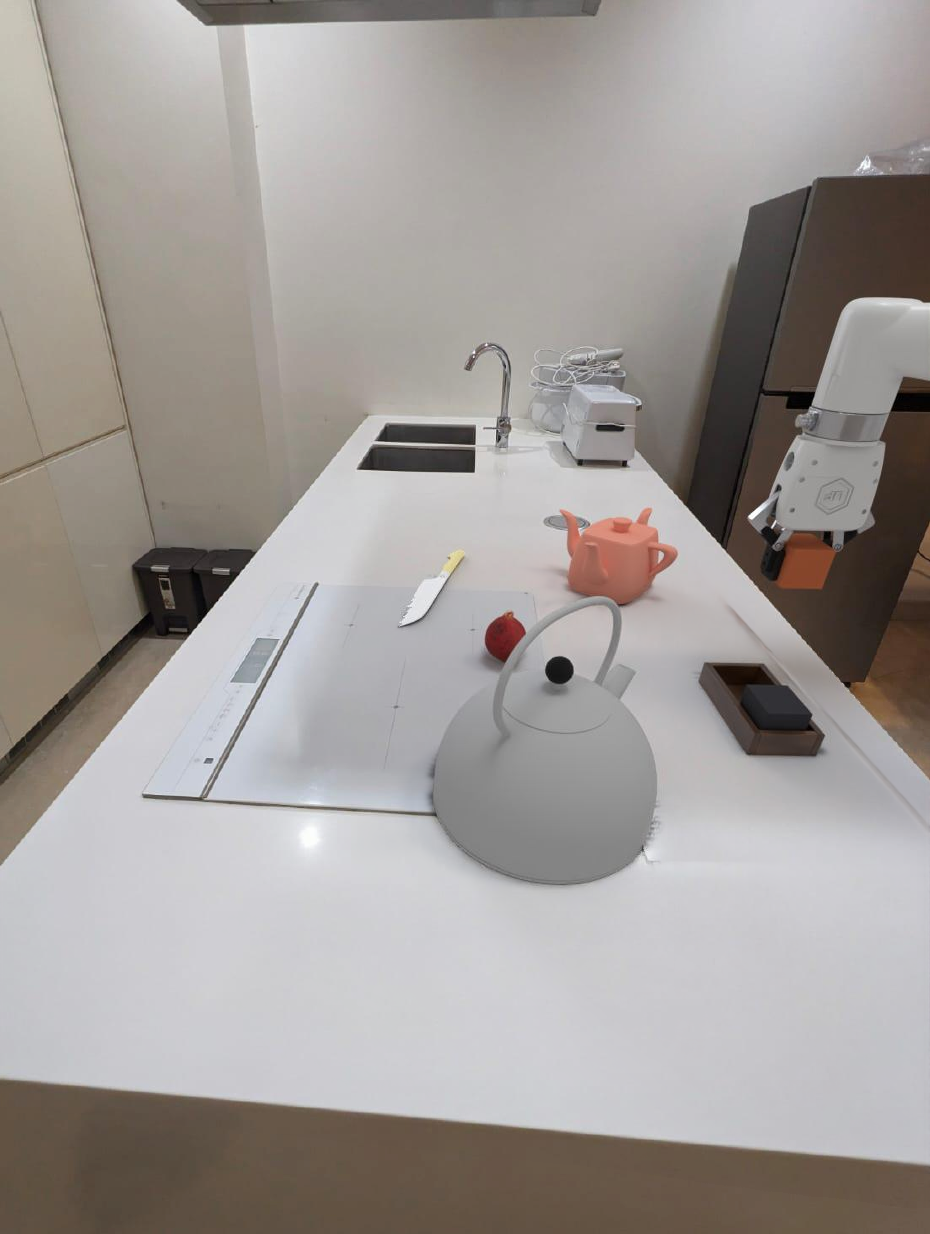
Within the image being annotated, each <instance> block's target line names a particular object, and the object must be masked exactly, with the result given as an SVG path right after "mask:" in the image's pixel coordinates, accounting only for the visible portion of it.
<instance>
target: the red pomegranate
mask: <svg viewBox="0 0 930 1234" xmlns="http://www.w3.org/2000/svg"><path fill="white" fill-rule="evenodd" d="M514 615H515V612H514V611H513V610H511V609H509V610H506V611H505V612H504V613H503V614H502V615H501V616H498V617H496V618H495V619H494V620H493V621H492V622H490V623H489V624H488V626H487V627H486V630H485V634H484V646H485V649H486V650H487V652H488V653H489V655H491V656H492V657H493V658H495V659H497V660H499V661H500V662H502V663H506V661H507V659H508V658H509V656H510V654H511V653H512V651H513V650H514V648H515V647H516V645H517V644H518V643H519V642H520V640H521V639H522V638H523V637H524V636H525V634H526V633H527V631H526V629H525V627H524V625H523V623H522V622H521V621H520V620H519V619H517V618H516V617H514Z"/></svg>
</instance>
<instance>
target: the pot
mask: <svg viewBox="0 0 930 1234" xmlns="http://www.w3.org/2000/svg"><path fill="white" fill-rule="evenodd" d="M558 511H559V513H560V514H561V515H562V516H563V518H564V519H565V522H566V527H567V535H566V536H567V537H566V549H567V553H568V555H569V557H570V558H571V560H570V564H569V566H568V572H567V582H568V586H569V589H570V590H572V591H575V592H576V593H580V594H582V595H586V596H588V597H594V596H604V597H608V598H610V599H612V600H613V601H614V602H615V603H616V604H617V605H625V604H629V603H631V602H632V601H634V600H636V599H638V598H640V597H641V596H643V595H644V594H645V593H646V592H647V591H648V589H649V588H650V587H651V585H652V584H653V582H654V581H655V579H656V576H657V575H658V574H660V573H661V572H663V571H664V570H666V569H668V568H669V567H671V566H672V565H673V564H674V563H675V561H676V559H678V556H679V552H678V550H677V548H676V547H674V546H672V545H671V544H668V543H667V544H666V543H663V542H662V543H661V542H659V529H657V528H656V527H654V526H650V525H648V523H649V518H650V517H651V514H652V513H653V508H652V507H646V508H644V509H643V510H641V512H640V513H639V516H638V518H637V520H636V522H634V521H633V520H632V519H631V518H628V517H625V516H616V517H608V518H604V519H601V520H598V521H596V522H595V523H592V524H591V525H589V526H588V527H586V528H585V529H584V530H583V531H582V533H581V535H580V531H579V523H578V520H577V518H576V516H575V515H574V514H573V513H571V512H570V511H568V510H566V509H565V510H564V509H559V510H558ZM660 552H661V553H662V554H663V557H662V559H661V560H660V559H659V557H660ZM659 560H660V561H659Z"/></svg>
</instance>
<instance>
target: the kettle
mask: <svg viewBox="0 0 930 1234" xmlns="http://www.w3.org/2000/svg"><path fill="white" fill-rule="evenodd" d="M593 606H604V607H607V608H608V609H609V610H610V612H611V616H612V632H611V637H610V641H609V645H608V648H607V651H606V654H605V656H604V659H603V661H602V663H601V666H600V668H599V669H598V671H597V674H596V676H595V679H594V680H593V681H592V680H591V679H589V678H587V677H585V676H582V675H579V674H577V673H575V668H574V667H575V666H574V664H573V662H572V661H571V660H570V659H569V658H567V657H565V656H564V655H558V656H552V657H551V658H550V659H549V660H548V661H547V662H546V664H545V668H542V669H541V668H540V669H538V668H537V669H530V670H525V671H520V672H516V673H513V670H514V669H515V667H516V665H517V663H518V662H519V660H520V659H521V657H522V656H523V654H524V653H525V651H526V650H527V649H528V648H529V646H530V645H531V644H532V642H533V641H535V639H536V638H537V637H538V636H539V635H540V634H541V633H542V632H543V631H544V630H546V629H547V628H549V627H550V626H551V625H552V624H554V623H556V622H557V621H559V620H561V619H563V618H564V617H566V616H568V615H570V614H573V613H575V612H578V611H580V610H583V609H585V608H589V607H593ZM622 622H623V621H622V613H621V609H620V607H619V604H616V603H615V602H614V601H613V600H612V599H610V598H608V597H604V596H594V597H592V596H588V597H585V598H581V599H579V600H575V601H573V602H570V603H568V604H566V605H564V606H562V607H559V608H557V609H555V610H554V611H552V612H551V613H549V614H547V615H546V616H544V617H543V618H542V619H540V620H539V621H538V622H536V623H535V624H534V625H533V626H532V627H531V628H530V629H529V630H528V631H526V634H525V636H524V637H523V638H522V639H521V640H520V642H519V643H518V644H517V645H516V647H515V648H514V650H513V651H512V653H511V654H510V656H509V658H508V659H507V661H506V662H504V665H503V667H502V669H501V671H500V674H499V676H498V679H497V680H494V681H493V682H490V683H489V684H487V685H485V686H483V687H482V688H481V689H479V690H478V691H476V692H475V693H474V694H473V695H472V696H471V697H469V698H468V699H467V700H466V702H464V703H463V704H462V705H461V707H460V708H459V709H458V710H457V712H455V714H454V716H453V717H452V719H451V720H450V722H449V724H448V725H447V728H446V729H445V731H444V734H443V735H442V738H441V740H440V744H439V746H438V751H437V755H436V761H435V768H434V779H433V786H432V800H433V801H432V802H433V808H434V811H435V814H436V817H437V819H438V821H439V823H440V825H441V827H442V828H443V830H444V831H445V833H446V834H447V836H448V837H449V838H450V839H451V840H452V841H453V843H454V844H455V845H457V846H458V847H459V848H460V849H461V850H462V852H465V854H467V855H468V856H470V857H471V858H473V859H474V860H476V861H477V862H479V863H481V864H482V865H483V866H486V867H488V868H490V869H491V870H494V871H496V872H499V873H501V874H504V875H506V876H509V877H513V878H516V879H520V880H523V881H528V882H533V883H539V884H549V885H573V884H580V883H586V882H587V883H589V882H592V881H596V880H600V879H603V878H605V877H608V876H610V875H612V874H614V873H617V872H619V871H620V870H622V869H623V868H625V867H626V866H628V865H629V864H630V863H632V862H633V861H634V860H635V859H636V858H637V857H638V856H639V855H640V853H641V852H642V851H643V849H644V844H645V842H646V840H647V838H648V835H649V833H650V829H651V825H652V821H653V817H654V814H655V808H656V803H657V794H658V773H657V766H656V761H655V760H656V759H655V756H654V753H653V750H652V746H651V744H650V741H649V739H648V737H647V734H646V733H645V731H644V729H643V727H642V726H641V724H640V723H639V721H638V719H637V718H636V716H635V715H634V714H633V713H632V711H631V710H630V709H629V708H628V707H627V706H626V705H625V704H624V703H623V701H621V699H622V697H623V696H624V694H625V692H626V691H627V689H628V686H629V685H630V683H631V681H632V680H633V678H634V676H635V675H636V673H637V671H636V670H634V669H633V668H630V667H628V666H626V665H624V664H621V663H617V664H616V665H614V667H613V668H611V665H612V664H613V660H614V659H615V656H616V653H617V650H618V647H619V643H620V640H621V635H622ZM610 668H611V670H610ZM609 670H610V671H609Z"/></svg>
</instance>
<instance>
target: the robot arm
mask: <svg viewBox="0 0 930 1234" xmlns="http://www.w3.org/2000/svg"><path fill="white" fill-rule="evenodd" d="M904 377H905V378H912V379H918V380H924V381H928V382H930V302H923V301H922V300H920V299H915V298H905V297H904V298H903V297H884V296H883V297H877V296H875V297H874V296H873V297H859V298H856V299H853V300H851V301H849V302H848V303H847V304H846V305H845V307H844V308H843V309H842V311H841V313H840V315H839V317H838V321H837V324H836V327H835V330H834V333H833V336H832V340H831V343H830V346H829V349H828V353H827V355H826V358H825V361H824V365H823V368H822V371H821V373H820V377H819V380H818V383H817V386H816V389H815V393H814V397H813V399H812V402H811V406H809V408H808V410H807V412H806V413H804V414H801V413H800V414H798V415H797V416H796V418H795V420H794V425H795V428H802V429H801V431H802V433H801V434H797V435H796V436H795V438H794V440H793V441H792V443H791V444H790V447H789V449H788V450H787V452H786V454H785V456H784V459H783V461H782V463H781V465H780V467H779V469H778V472H777V473H776V477H775V480H774V482H773V484H772V487H771V490H770V493H769V497H768V498H767V499H766V500H765V501H764V502H763V503H761V504H760V505H759V506H758V507H757V508H756V509H755V510H754V511H752V512H751V513H750V514H749V515H748V516H747V521H748V523H749V524H750V525H751V526H752V527H754V529H755V530H756V531H757V533H758V534H759V535H760V537H761V538H762V539H763V541H764V543H765V544H766V546H765V549H764V552H763V556H762V559H761V562H760V565H759V567H760V573H761V574H762V575H763V576H764V577H765V578H766V579H767V580H769V582H774V581H776V580H777V578H778V575H779V572H780V569H781V566H782V563H783V560H784V557H785V554H786V552H785V551H784V550H783V547H784V545H785V544H786V542H787V541H788V539H789V538H790V536H791V535H792V533H795V532H794V531H801V532H802V531H803V532H805V531H806V532H807V531H808V532H809V531H810V532H821V533H820V534H821V538H820V540H821V541H823V542H824V543H826V544H827V545H828V546H830V547H831V548H833V549H834V550H836V553H838V552H841V551H842V549H844V546H845V545H846V544H847V543H849V542H850V541H852V540H854V539H855V538H856V537H857V536H858V534H859V535H860V534H862V533H863V532H865V531H866V530H869V529H870V528H872V527H873V526H874V525H875V523H876V520H875V517H874V515H873V513H872V511H871V508H872V505H873V503H874V498H875V496H876V493H877V489H878V485H879V483H880V478H881V474H882V469H883V465H884V459H885V454H886V453H885V452H886V442H885V441H881V440H880V439H881V437H882V433H883V431H884V429H885V426H886V423H887V421H888V418H889V415H890V412H891V410H892V408H893V405H894V402H895V400H896V397H897V394H898V392H899V390H900V387H901V383H902V382H903V379H904ZM768 518H770V519H772V520H774V522H772V525H771V526H770V525H769V524H768V523H767V519H768Z"/></svg>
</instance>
